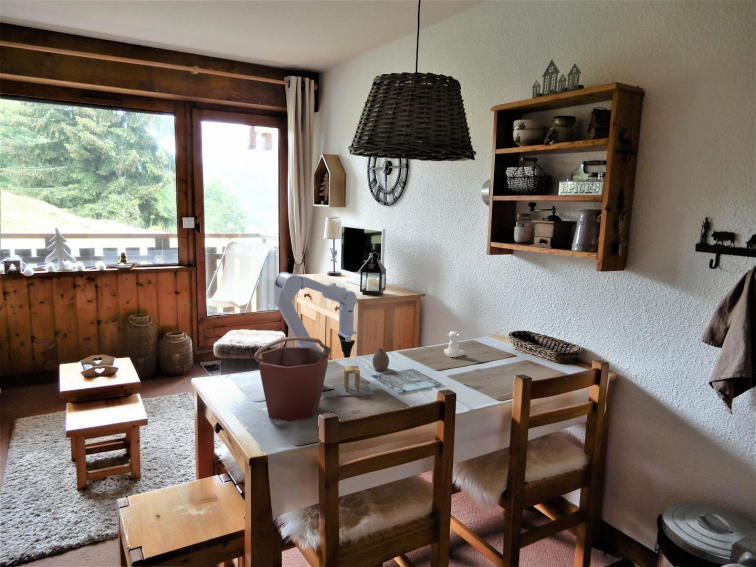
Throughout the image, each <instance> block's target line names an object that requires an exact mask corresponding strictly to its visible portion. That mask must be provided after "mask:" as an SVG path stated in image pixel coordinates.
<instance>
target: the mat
mask: <svg viewBox="0 0 756 567" xmlns="http://www.w3.org/2000/svg"><path fill="white" fill-rule="evenodd" d="M332 387H333V390H334V395H335V397H336V398H341V397H342V398H343V397H364V396H365V397H367V396H366V395H370V396H373V393H372V391H371V388H370V386H369V384H368V382H360V389H359V391H356V387H355V382H354V383H349V392H346V391H345V389H346V388H344V383H334V384H332Z"/></svg>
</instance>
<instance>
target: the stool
mask: <svg viewBox="0 0 756 567" xmlns="http://www.w3.org/2000/svg"><path fill="white" fill-rule="evenodd" d="M343 373H344V378H343V379H344V380H343V384H344V388H346V389H345V391H346V392H349V384H350V382H349V381H350V374H351V375H353V374H354V383H355V387H356V391H359V389H360V383H361V381H360V380H361V370H360V366H359V365H345V366H344V372H343Z"/></svg>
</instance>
